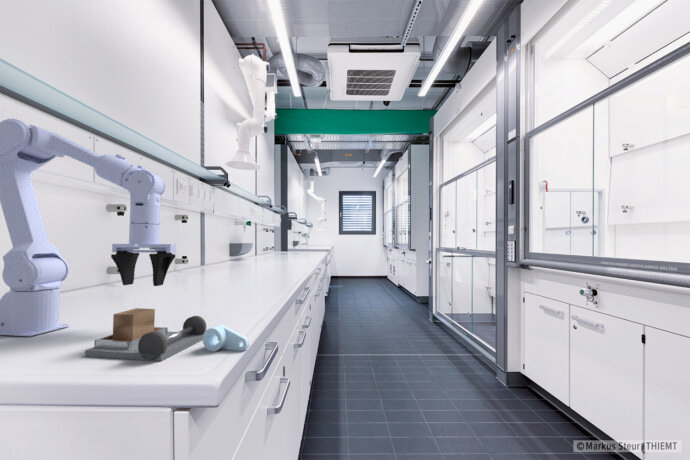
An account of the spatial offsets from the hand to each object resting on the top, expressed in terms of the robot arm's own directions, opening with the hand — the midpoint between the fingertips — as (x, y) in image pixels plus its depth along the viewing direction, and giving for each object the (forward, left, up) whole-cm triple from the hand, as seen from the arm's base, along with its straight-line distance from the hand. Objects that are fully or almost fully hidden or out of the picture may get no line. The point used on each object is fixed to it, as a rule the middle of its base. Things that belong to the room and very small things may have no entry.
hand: (143, 285), depth 70 cm
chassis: (+12, -11, -9) cm, 18 cm away
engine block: (+8, -11, -8) cm, 16 cm away
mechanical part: (+26, -10, -10) cm, 29 cm away
